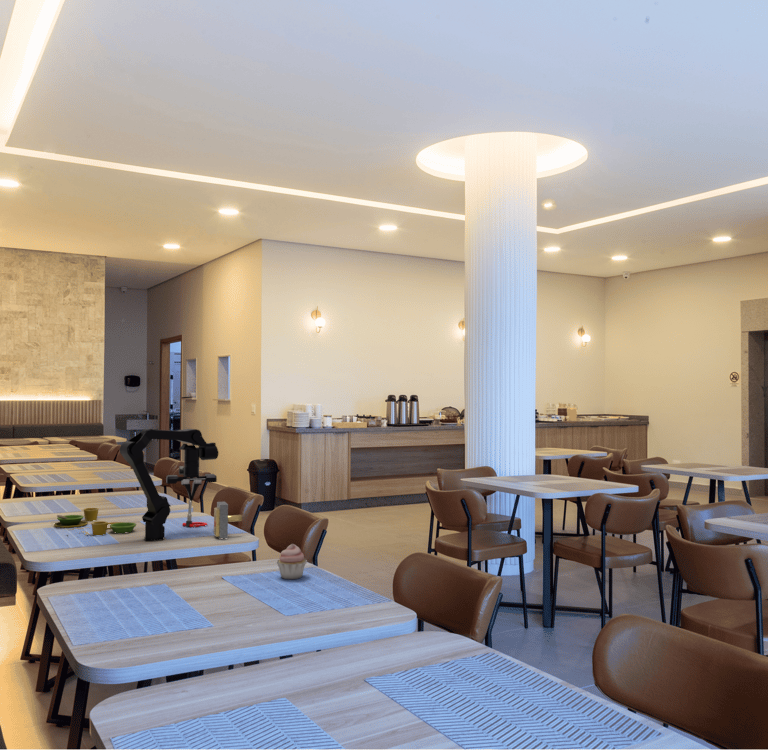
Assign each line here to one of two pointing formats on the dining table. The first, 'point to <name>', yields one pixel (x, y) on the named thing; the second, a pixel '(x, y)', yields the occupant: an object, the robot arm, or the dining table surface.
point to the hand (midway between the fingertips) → (191, 500)
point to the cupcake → (291, 563)
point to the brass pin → (230, 519)
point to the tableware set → (97, 527)
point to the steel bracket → (223, 519)
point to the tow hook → (189, 522)
